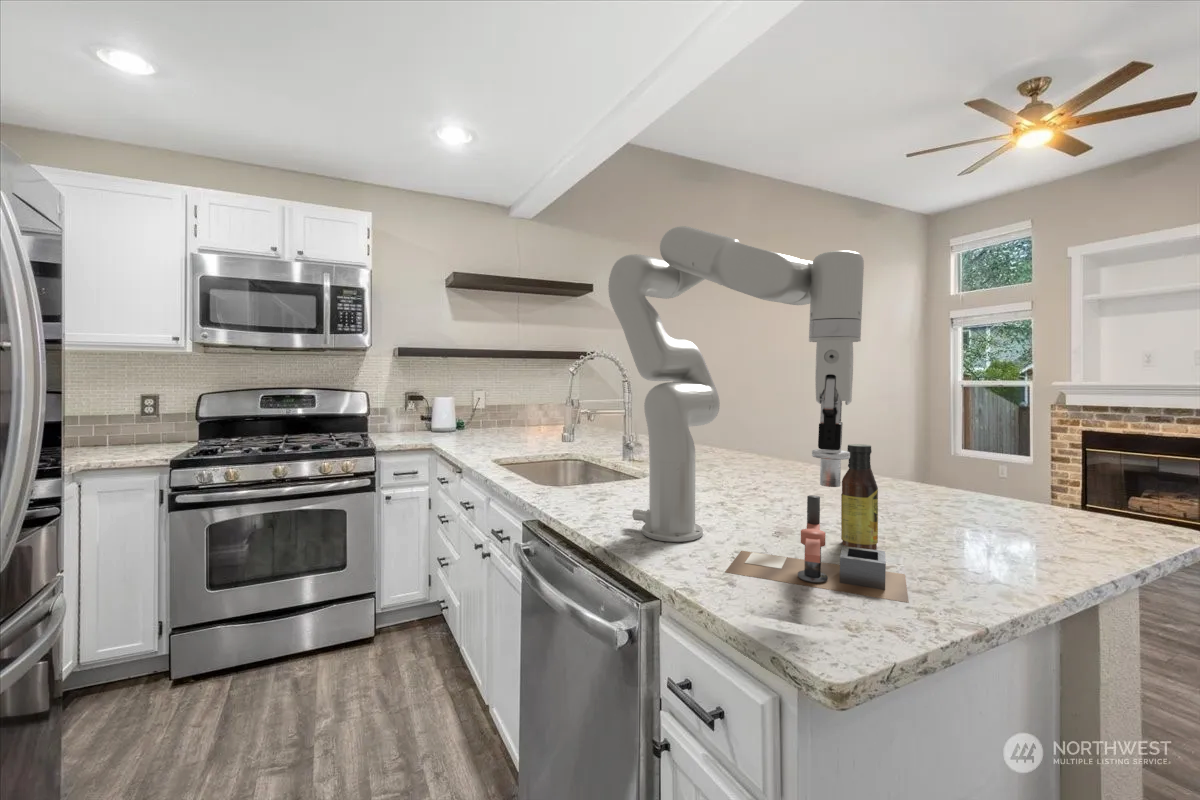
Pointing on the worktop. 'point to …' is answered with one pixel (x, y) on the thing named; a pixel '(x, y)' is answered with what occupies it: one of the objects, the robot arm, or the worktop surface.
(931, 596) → the worktop surface
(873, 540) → the sauce bottle
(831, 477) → the peg
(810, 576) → the pivot post
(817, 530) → the lever
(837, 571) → the board
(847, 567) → the block
